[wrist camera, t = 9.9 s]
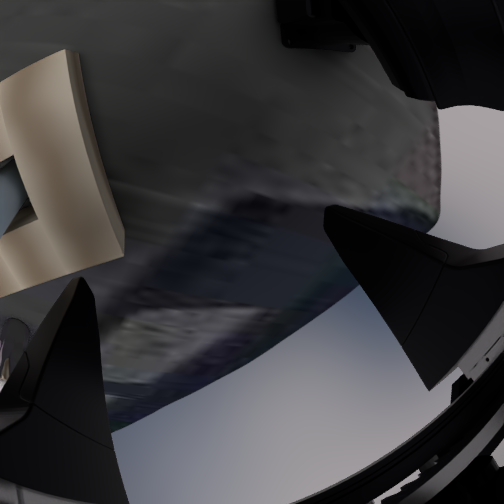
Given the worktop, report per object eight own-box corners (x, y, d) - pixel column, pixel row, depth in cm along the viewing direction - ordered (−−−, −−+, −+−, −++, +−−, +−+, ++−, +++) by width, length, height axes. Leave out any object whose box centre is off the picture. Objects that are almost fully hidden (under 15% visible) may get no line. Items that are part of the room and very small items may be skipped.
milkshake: (-3, 335, 20) (-16, 412, 13) (2, 307, 19) (-18, 393, 11) (30, 349, 23) (24, 426, 15) (38, 324, 22) (28, 410, 14)
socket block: (78, 53, 11) (65, 49, 9) (124, 229, 20) (124, 256, 18) (-62, 138, 8) (-85, 153, 6) (-2, 275, 17) (-13, 302, 15)
